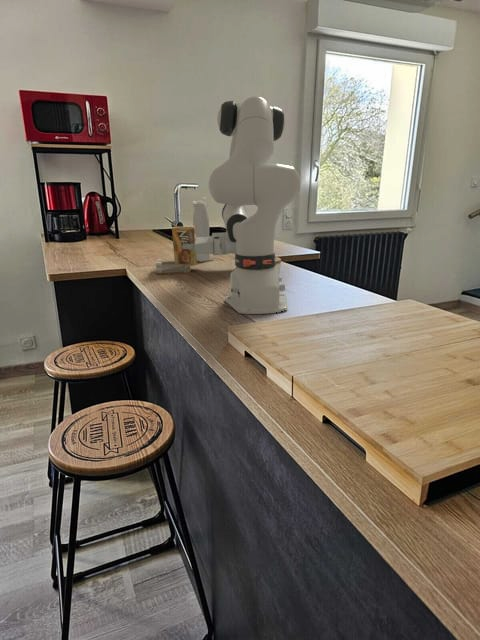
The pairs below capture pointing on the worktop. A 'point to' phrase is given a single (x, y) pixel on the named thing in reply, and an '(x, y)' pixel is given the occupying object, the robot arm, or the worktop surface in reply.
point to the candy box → (184, 237)
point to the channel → (171, 267)
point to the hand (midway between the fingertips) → (182, 245)
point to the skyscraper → (201, 225)
